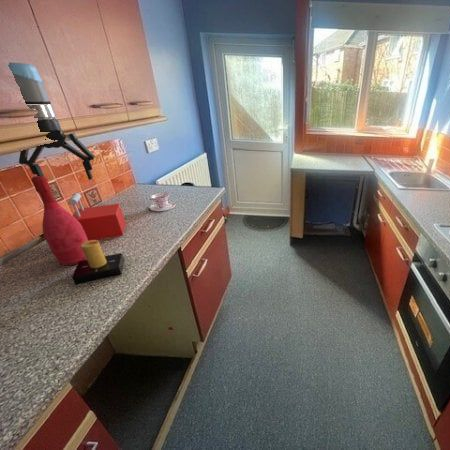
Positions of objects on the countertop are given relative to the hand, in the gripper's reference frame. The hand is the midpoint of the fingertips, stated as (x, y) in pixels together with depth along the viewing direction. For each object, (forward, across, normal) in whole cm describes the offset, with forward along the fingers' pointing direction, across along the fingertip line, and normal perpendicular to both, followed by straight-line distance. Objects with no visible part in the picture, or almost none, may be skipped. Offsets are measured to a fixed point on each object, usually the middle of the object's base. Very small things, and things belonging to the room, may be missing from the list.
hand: (68, 180), depth 92 cm
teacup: (+23, +27, +19) cm, 40 cm away
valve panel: (+23, +8, -30) cm, 39 cm away
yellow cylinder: (+20, +8, -30) cm, 37 cm away
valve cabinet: (+23, +5, 0) cm, 24 cm away
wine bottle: (+23, -1, -18) cm, 29 cm away
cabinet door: (+14, +5, 0) cm, 15 cm away
